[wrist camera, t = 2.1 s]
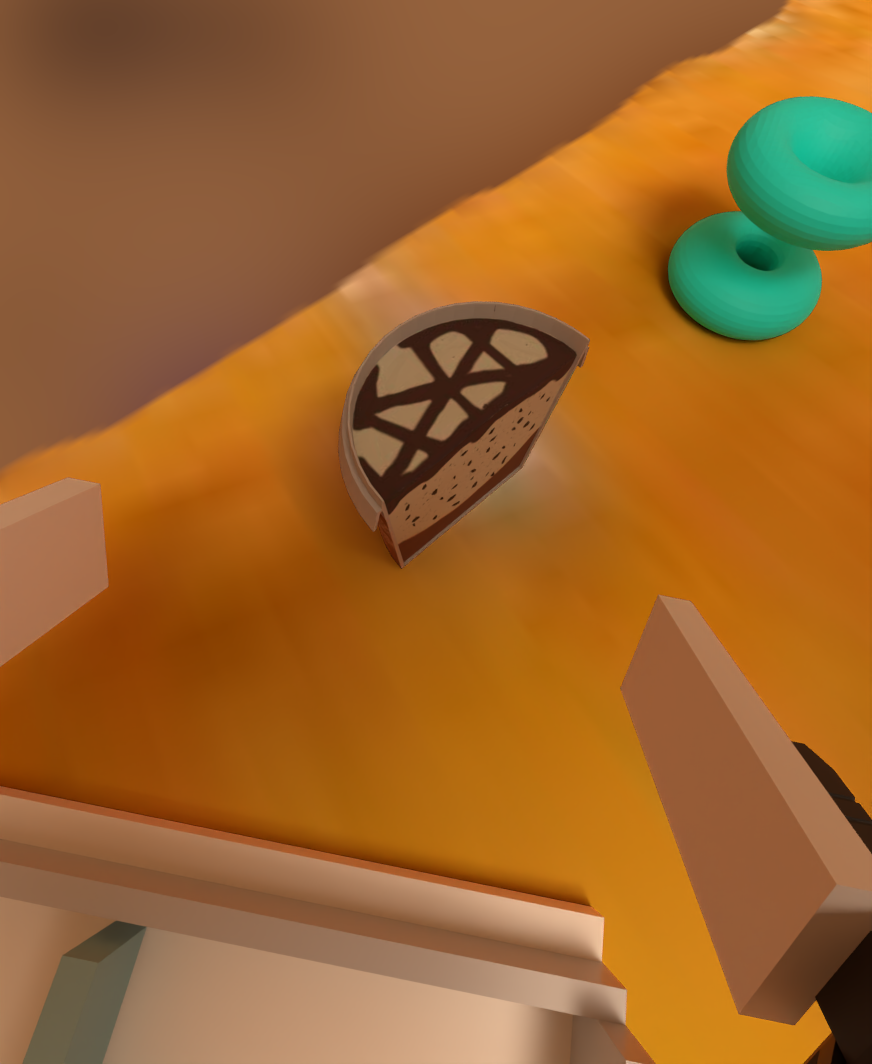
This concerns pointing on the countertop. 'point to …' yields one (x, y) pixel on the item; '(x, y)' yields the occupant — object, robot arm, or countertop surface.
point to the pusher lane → (295, 950)
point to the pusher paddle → (86, 998)
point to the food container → (449, 414)
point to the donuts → (778, 218)
